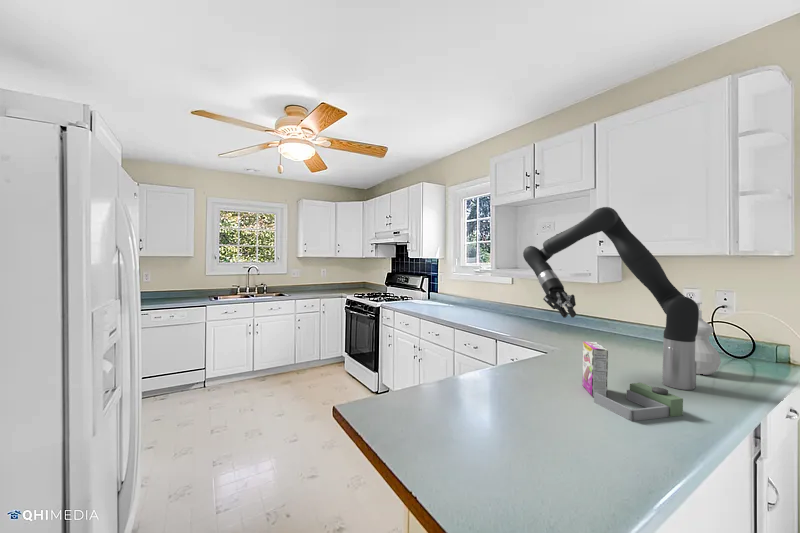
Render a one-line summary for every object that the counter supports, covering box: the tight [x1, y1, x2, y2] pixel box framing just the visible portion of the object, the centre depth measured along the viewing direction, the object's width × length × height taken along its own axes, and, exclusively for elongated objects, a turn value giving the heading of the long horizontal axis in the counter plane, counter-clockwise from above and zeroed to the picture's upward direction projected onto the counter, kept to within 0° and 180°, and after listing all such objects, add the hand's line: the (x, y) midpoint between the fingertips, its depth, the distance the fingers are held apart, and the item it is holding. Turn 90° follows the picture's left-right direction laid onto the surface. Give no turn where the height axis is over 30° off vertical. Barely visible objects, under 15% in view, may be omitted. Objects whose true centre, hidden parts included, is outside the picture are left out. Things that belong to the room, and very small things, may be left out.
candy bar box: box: [581, 341, 609, 398], centre depth 122 cm, size 11×5×16 cm, turn 168°
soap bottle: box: [694, 300, 722, 376], centre depth 147 cm, size 17×12×29 cm
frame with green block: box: [593, 382, 684, 422], centre depth 109 cm, size 19×14×6 cm
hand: (569, 316), depth 137 cm, fingers open, 3 cm apart
